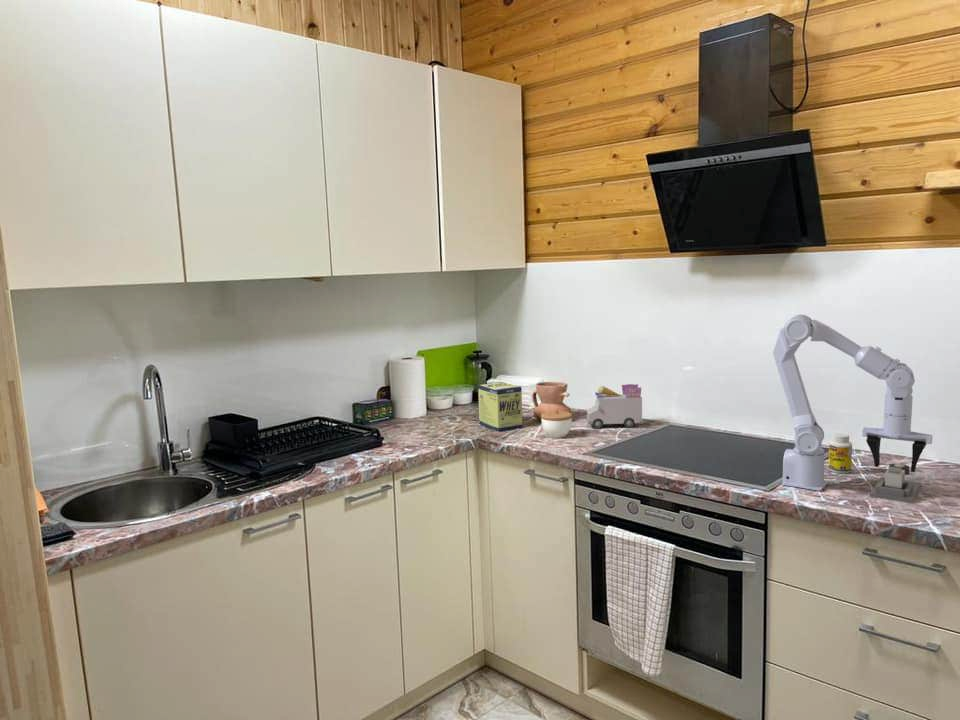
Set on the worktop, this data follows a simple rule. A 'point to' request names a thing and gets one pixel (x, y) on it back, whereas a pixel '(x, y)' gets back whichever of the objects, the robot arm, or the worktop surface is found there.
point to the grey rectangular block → (894, 478)
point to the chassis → (896, 491)
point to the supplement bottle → (840, 454)
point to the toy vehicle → (616, 407)
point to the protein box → (500, 406)
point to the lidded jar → (556, 423)
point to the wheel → (904, 467)
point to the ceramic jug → (550, 398)
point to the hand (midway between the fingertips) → (894, 468)
